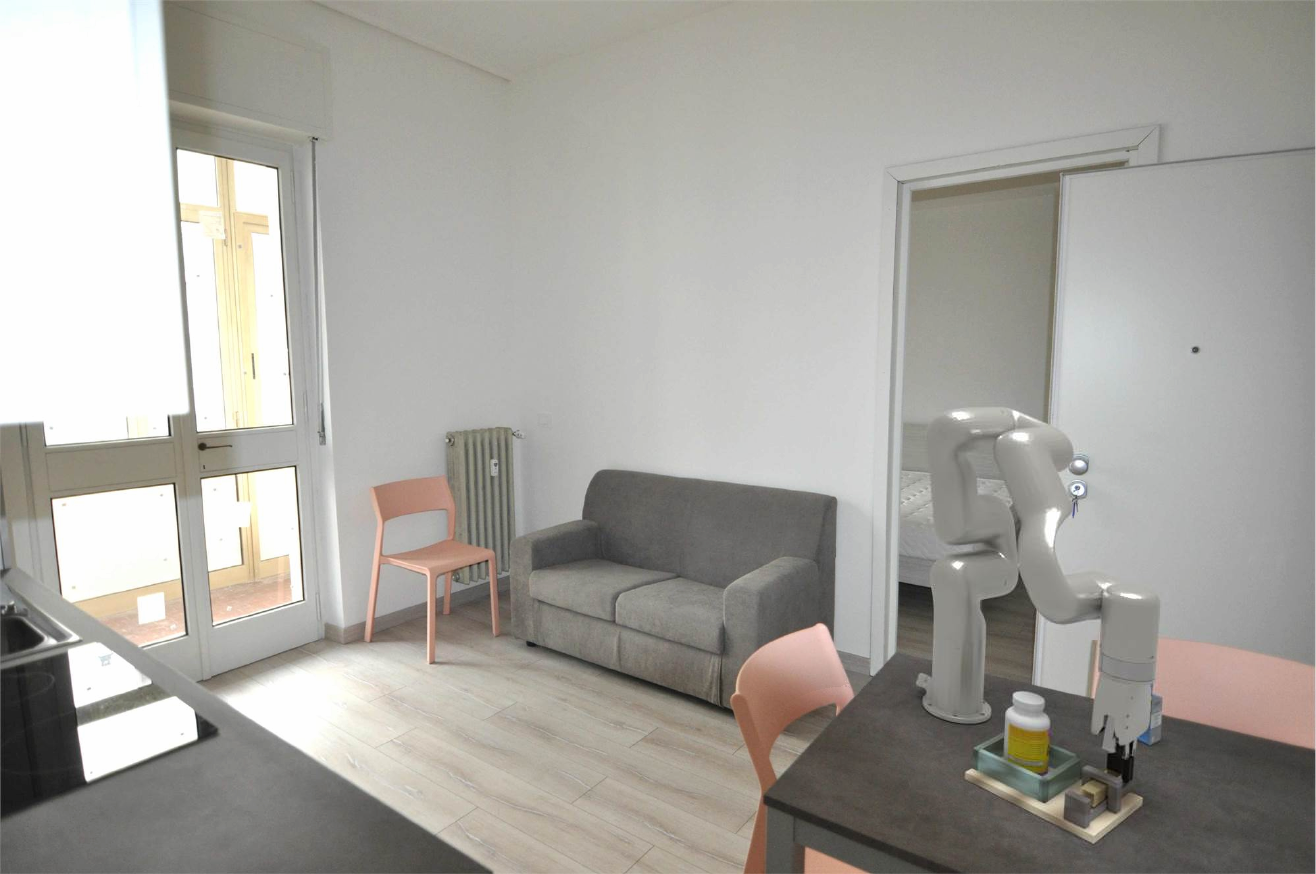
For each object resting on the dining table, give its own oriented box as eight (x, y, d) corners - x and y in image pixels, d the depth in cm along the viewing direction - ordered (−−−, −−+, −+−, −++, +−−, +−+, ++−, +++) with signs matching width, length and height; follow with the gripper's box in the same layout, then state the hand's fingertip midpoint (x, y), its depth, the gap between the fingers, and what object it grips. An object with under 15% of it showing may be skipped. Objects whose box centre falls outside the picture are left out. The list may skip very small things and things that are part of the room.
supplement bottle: (1053, 785, 116) (1058, 708, 115) (1009, 781, 117) (1013, 705, 116) (1040, 763, 122) (1043, 690, 121) (998, 759, 124) (1001, 687, 122)
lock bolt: (1079, 800, 109) (1080, 788, 109) (1107, 780, 114) (1107, 768, 114) (1093, 807, 107) (1094, 794, 107) (1120, 786, 112) (1121, 774, 112)
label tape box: (1161, 741, 132) (1166, 676, 131) (1149, 746, 130) (1153, 680, 129) (1112, 720, 140) (1116, 658, 139) (1099, 725, 138) (1103, 662, 137)
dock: (964, 779, 120) (966, 743, 119) (1016, 749, 129) (1018, 716, 128) (1093, 843, 104) (1096, 803, 103) (1142, 804, 113) (1144, 767, 112)
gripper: (1121, 647, 120) (1114, 752, 122) (1078, 669, 111) (1071, 782, 113) (1173, 662, 114) (1166, 773, 116) (1132, 686, 105) (1124, 806, 107)
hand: (1119, 777), depth 114 cm, fingers closed
